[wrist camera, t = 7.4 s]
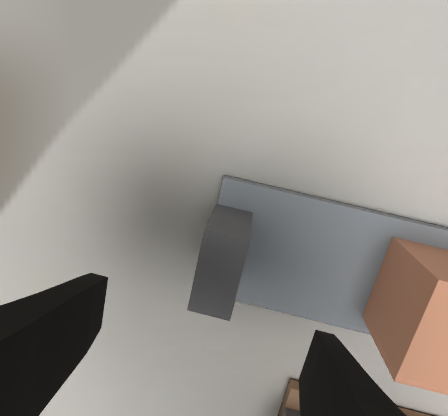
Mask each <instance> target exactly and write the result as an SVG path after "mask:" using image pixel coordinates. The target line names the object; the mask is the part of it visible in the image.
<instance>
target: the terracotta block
mask: <svg viewBox="0 0 448 416" xmlns="http://www.w3.org/2000/svg"><path fill="white" fill-rule="evenodd" d="M362 317H363V320H364V322H365V324H366V326H367V328H368V330H369V332H370V334H371V336H372V338H373V340H374V342H375V344H376V346H377V348H378V350H379V352H380V354H381V356H382V358H383V360H384V362H385V364H386V366H387V368H388V370H389V372H390V374H391V376H392V378H393V380H394V381H395V382H399V383H403V384H407V385H411V386H414V387H418V388H422V389H426V390H430V391H434V392H438V393H442V394H446V395H448V250H446V249H442V248H438V247H434V246H429V245H425V244H421V243H417V242H413V241H409V240H404V239H400V238H396V237H392V239H391V242H390V244H389V247H388V250H387V252H386V255H385V258H384V260H383V263H382V265H381V268H380V271H379V273H378V276H377V278H376V281H375V284H374V286H373V289H372V292H371V294H370V297H369V299H368V302H367V305H366V307H365V310H364V313H363V315H362Z"/></svg>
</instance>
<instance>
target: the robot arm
mask: <svg viewBox="0 0 448 416" xmlns="http://www.w3.org/2000/svg"><path fill="white" fill-rule="evenodd" d="M107 281H108V277H105V276H101V275H97V274H93V273H89V274H86V275H83V276H80V277H78V278H75V279H73V280H70V281H68V282H65V283H62V284H60V285H57V286H55V287H52V288H50V289H47V290H44V291H42V292H39V293H36V294H33V295H30V296H28V297H25V298H22V299H19V300H16V301H13V302H10V303H7V304H4V305H0V416H39V415H40V413H41V412H42V411H43V409H44V408H45V407H46V405H47V404H48V403H49V402H50V400H51V399H52V398H53V396H54V395H55V394H56V393H57V391H58V390H59V389H60V387H61V386H62V385H63V383H64V382H65V381H66V380H67V378H68V377H69V376H70V374H71V373H72V372H73V370H74V369H75V368H76V367H77V365H78V364H79V363H80V361H81V360H82V359H83V357H84V356H85V355H86V353H87V351H88V350H89V348H90V346H91V345H92V343H93V341H94V340H95V338H96V336H97V334H98V333H99V331H100V329H101V325H102V318H103V311H104V303H105V296H106V289H107ZM299 405H300V415H301V416H406V415H405V414H404V413H403V412H402V411H401V410H400V409H399V408H398V407H397V405H396V404H395V403H394V402H393V401H392V400H391V399H390V398H389V397H388V396H387V395H386V394H385V393H384V392H383V391H382V390H381V388H380V387H379V386H378V385H377V384H376V383H375V382H374V381H373V380H372V378H371V377H370V376H369V375H368V374H367V373H366V371H365V370H364V369H363V368H362V367H361V366H360V364H359V363H358V362H357V361H356V360H355V358H354V357H353V356H352V355H351V354H350V352H349V351H348V350H347V349H346V348H345V346H344V345H343V344H342V343H341V342H340V340H339V339H338V338H337V337H336V336H335V335H334V334H330V333H326V332H322V331H318V330H316V331H315V333H314V336H313V339H312V342H311V345H310V348H309V351H308V354H307V357H306V360H305V363H304V366H303V369H302V372H301V374H300V377H299Z"/></svg>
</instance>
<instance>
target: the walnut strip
mask: <svg viewBox="0 0 448 416" xmlns="http://www.w3.org/2000/svg"><path fill="white" fill-rule="evenodd" d="M398 408H399V409H400V410H401V411H402V412H403V413H404V414H405V415H406V416H431V415H427V414H424V413H420V412H416V411H412V410H408V409H404V408H400V407H398ZM278 416H301V415H300V405H299V381H296V380H292V379H290V381H289V384H288V387H287V390H286V393H285V396H284V399H283V402H282V405H281V408H280V411H279V414H278Z"/></svg>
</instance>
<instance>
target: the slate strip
mask: <svg viewBox="0 0 448 416" xmlns="http://www.w3.org/2000/svg"><path fill="white" fill-rule="evenodd" d="M392 237H396V238H400V239H404V240H409V241H413V242H417V243H421V244H425V245H429V246H434V247H438V248H442V249H446V250H448V228H447V227H442V226H438V225H434V224H430V223H425V222H421V221H417V220H413V219H408V218H404V217H400V216H396V215H392V214H387V213H383V212H379V211H375V210H370V209H366V208H362V207H358V206H353V205H349V204H345V203H341V202H337V201H332V200H328V199H324V198H320V197H315V196H311V195H307V194H303V193H298V192H294V191H290V190H286V189H282V188H277V187H273V186H269V185H265V184H260V183H256V182H252V181H248V180H243V179H239V178H235V177H231V176H227V175H224V177H223V180H222V185H221V189H220V194H219V198H218V203H217V205H216V207H215V209H214V212H213V214H212V216H211V218H210V220H209V222H208V224H207V226H206V228H205V230H204V235H203V239H202V244H201V249H200V253H199V258H198V263H197V267H196V272H195V277H194V281H193V286H192V291H191V295H190V300H189V304H188V309H187V310H189V311H193V312H197V313H201V314H205V315H209V316H213V317H217V318H220V319H224V320H228V321H230V318H231V314H232V310H233V307H234V303H235V301H239V302H243V303H247V304H251V305H255V306H259V307H263V308H266V309H270V310H274V311H278V312H282V313H286V314H290V315H294V316H298V317H302V318H306V319H310V320H314V321H318V322H322V323H326V324H330V325H334V326H338V327H342V328H346V329H350V330H354V331H358V332H362V333H366V334H370V332H369V330H368V328H367V326H366V324H365V322H364V320H363V317H362V315H363V313H364V310H365V307H366V305H367V302H368V299H369V297H370V294H371V292H372V289H373V286H374V284H375V281H376V278H377V276H378V273H379V271H380V268H381V265H382V263H383V260H384V258H385V255H386V252H387V250H388V247H389V244H390V242H391V239H392ZM370 335H371V334H370Z"/></svg>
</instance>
